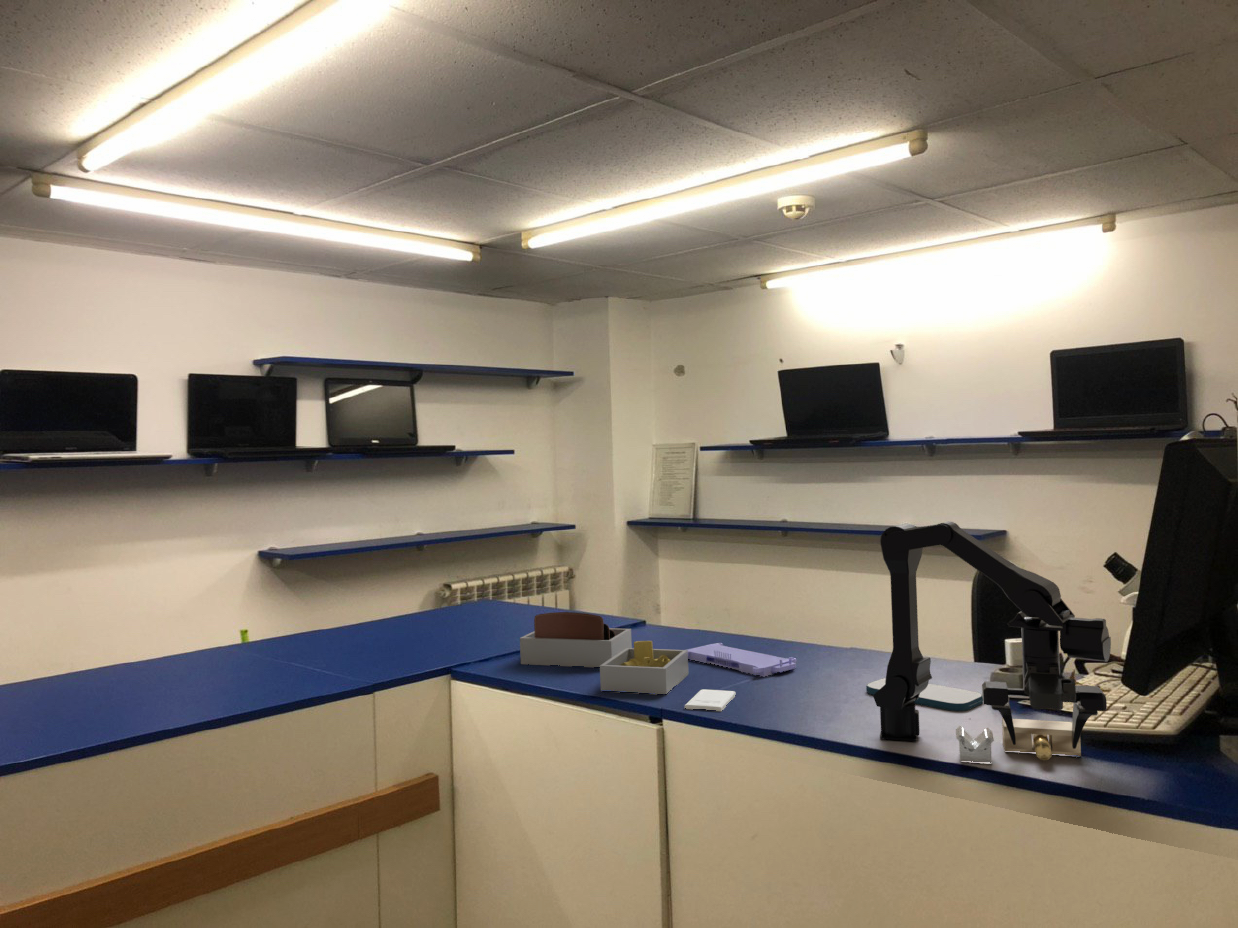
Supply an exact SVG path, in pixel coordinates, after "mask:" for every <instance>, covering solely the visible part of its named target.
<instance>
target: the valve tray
mask: <svg viewBox="0 0 1238 928" xmlns="http://www.w3.org/2000/svg"><path fill="white" fill-rule="evenodd" d="M662 655H665V656H667V657H668V659H670V660H671V661H670V662H669V663H668V664H666V665H665V666H664V667H641V666H620V664H622V663H624V662H628V661H629V660H630V659H633V658H634V647H632V648H626V649H624V650H623V651H621V652H620V653H618V654H617V655H615V656H614V657H612V658H611V659H609V660H608V661H606V662H605V663H603V664H602V665H600V668H599V681H600V691H601V690H611V691H613V690H614V691H626V692H638V693H637V694H639V693H640V692H641V693H652V694H651V695H657V694H667V693H668V692H669V691H670V690H672V688H673V687H674V686H676V685H677V686H678V685H679V684H680V683H681V682H682V681H683V680H684V679H686V677H687V676H689V660H688V650H687V649H667V648H664V649H663V648H661V649H660V648H653V659H659V657H660V656H662ZM677 686H676V687H677ZM672 691H673V690H672ZM670 692H671V691H670ZM670 692H669V693H670ZM653 693H655V694H653ZM669 693H668V694H669ZM668 694H667V695H668Z"/></svg>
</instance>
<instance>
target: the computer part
mask: <svg viewBox="0 0 1238 928" xmlns="http://www.w3.org/2000/svg"><path fill="white" fill-rule="evenodd" d="M686 650H688V659H691V660H695V661H700V662H704V663H707V664H710V663H711V664H710V665H714V664H715V665H714V666H717V665H719V666H718V667H721V666H723V667H722V668H726V667H728V668H727V669H730V668H732V669H731V670H737V671H741V672H740V673H743V672H746V673H745V674H748V673H750V674H749V675H752V674H755V675H754V676H756V675H760V676H759V677H761V676H763V677H762V678H766V677H765V676H767V677H769V676H768V675H771V674H772V673H776V672H780V673H784V672H786V671H789V670H790V671H791V670H795V669H796V664H797V657H792V656H789V657H788V658H786V657H785V658H784V657H779V656H775V655H771V654H766V653H760V652H756V651H752V650H751V651H750V650H746V649H740V648H736V647H730V646H726V645H724V643H722V642H717V643H711V644H706V645H701V646H697V647H692V648H688V649H686ZM691 660H690V661H691ZM695 661H694V662H695ZM700 662H699V663H700ZM704 663H703V664H704ZM783 671H784V672H783ZM776 674H777V673H776ZM772 675H773V674H772ZM772 675H771V676H772Z"/></svg>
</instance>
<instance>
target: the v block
mask: <svg viewBox="0 0 1238 928" xmlns="http://www.w3.org/2000/svg"><path fill="white" fill-rule="evenodd" d="M955 735H956V736H955V737H956V740H957V741H958V746H959V747H958V748H959V749H958V751H959V753H960V754H959V753H958V754H959V762H960V761H971V762H972V761H973V762H990V763H991V762H993V760H992V758H993V757H992V743H993V742H994V741H995V740H994V739H995V737H994V734H993V731H992V730H991V729H990V728H989V727H987V728H984V730H983V731H981V732H980V734H978V735H977V736H976V737H975V738H974V737H972V736H971V735H970V734H969V733H968V732H967V731H966V730H965V729H964V727H963V726H961V725H959V726H958V727H957V728H955Z"/></svg>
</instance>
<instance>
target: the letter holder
mask: <svg viewBox="0 0 1238 928" xmlns="http://www.w3.org/2000/svg"><path fill="white" fill-rule="evenodd" d="M533 624H534V625H533V629H534V631H535V638H557V639H586V640H610V639H612V638H613V637H615V632H614V631H613V630H611V629H609V628H610V626H609V625H608V624H607V623H604V618H603V617H602V616H601V615H597V614H592V613H591V614H590V613H584V612H574V611H573V612H572V611H558V612H557V611H556V612H554V611H553V612H546V613H545V612H544V613H539V614H536V615H535V616H534V619H533ZM534 631H533V632H534Z"/></svg>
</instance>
